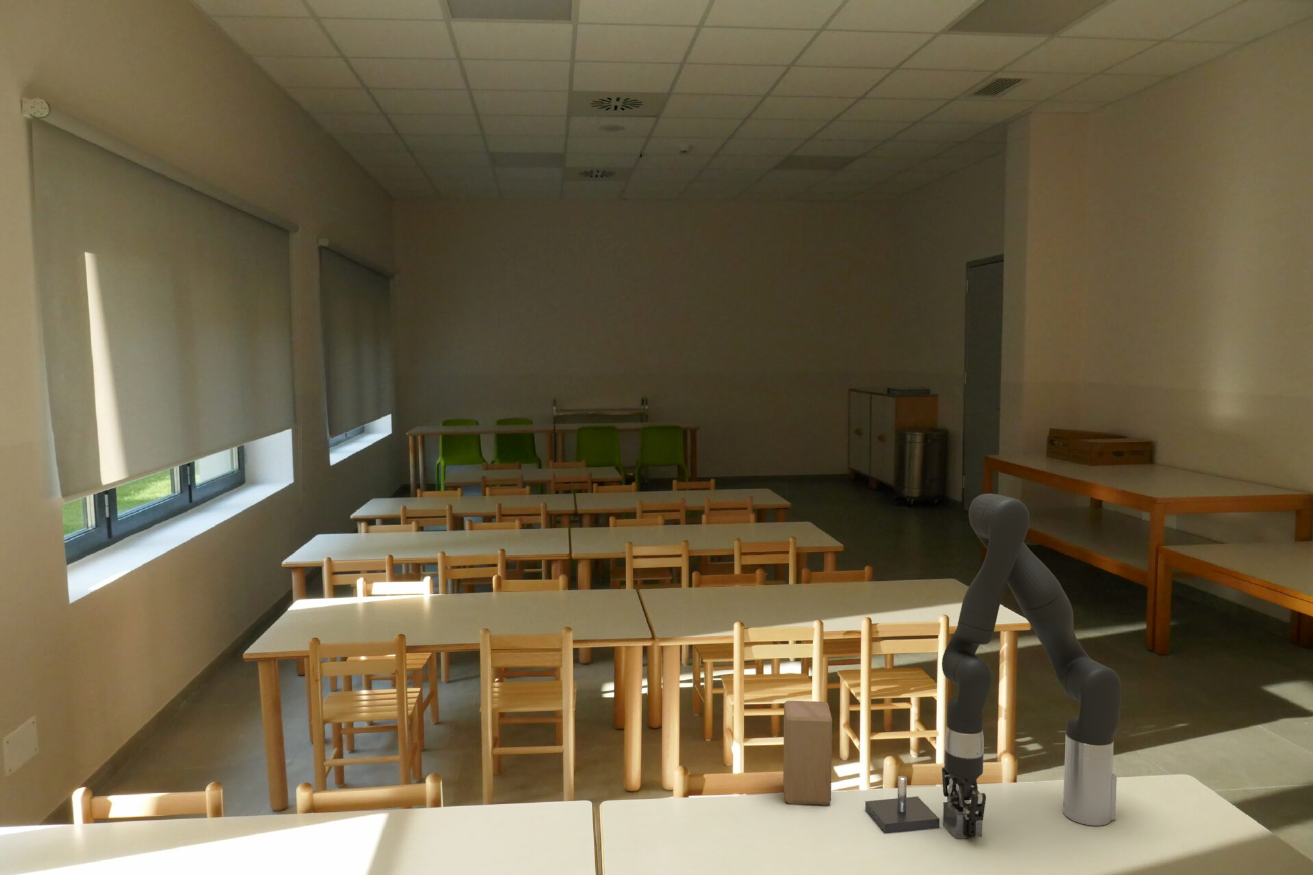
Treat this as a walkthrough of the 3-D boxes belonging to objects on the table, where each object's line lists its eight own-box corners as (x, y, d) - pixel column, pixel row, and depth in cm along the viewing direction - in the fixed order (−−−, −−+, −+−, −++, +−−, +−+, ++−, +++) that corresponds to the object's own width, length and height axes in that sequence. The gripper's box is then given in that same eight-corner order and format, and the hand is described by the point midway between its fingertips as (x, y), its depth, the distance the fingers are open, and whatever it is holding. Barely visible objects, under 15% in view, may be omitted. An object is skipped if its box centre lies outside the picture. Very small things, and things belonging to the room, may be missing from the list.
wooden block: (827, 785, 212) (828, 700, 211) (831, 806, 202) (832, 717, 201) (783, 784, 213) (783, 698, 212) (784, 804, 203) (785, 715, 202)
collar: (967, 822, 195) (968, 799, 195) (981, 836, 190) (982, 812, 189) (942, 825, 194) (943, 802, 194) (956, 838, 189) (956, 815, 188)
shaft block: (917, 805, 203) (918, 765, 202) (939, 827, 193) (940, 785, 192) (865, 810, 201) (865, 769, 200) (884, 833, 191) (885, 790, 190)
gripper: (1000, 762, 184) (997, 844, 185) (963, 733, 198) (961, 810, 199) (964, 765, 183) (962, 848, 184) (930, 736, 197) (928, 813, 198)
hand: (962, 828), depth 192 cm, fingers closed on collar, 5 cm apart
